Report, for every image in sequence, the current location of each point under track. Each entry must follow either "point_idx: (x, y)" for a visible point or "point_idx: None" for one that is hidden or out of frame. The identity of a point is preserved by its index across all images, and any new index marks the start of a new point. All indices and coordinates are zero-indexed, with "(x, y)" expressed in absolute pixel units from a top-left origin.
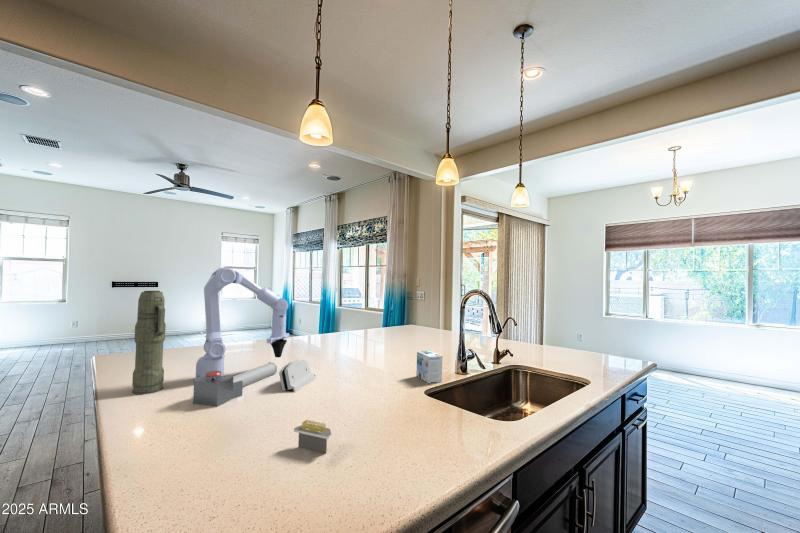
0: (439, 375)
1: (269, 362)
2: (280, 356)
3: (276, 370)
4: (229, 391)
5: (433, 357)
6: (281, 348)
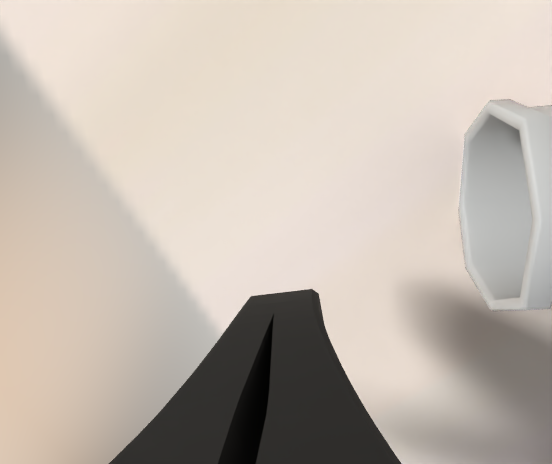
0: None
1: (547, 297)
2: (271, 297)
3: (508, 101)
4: None
5: None
6: (269, 440)
